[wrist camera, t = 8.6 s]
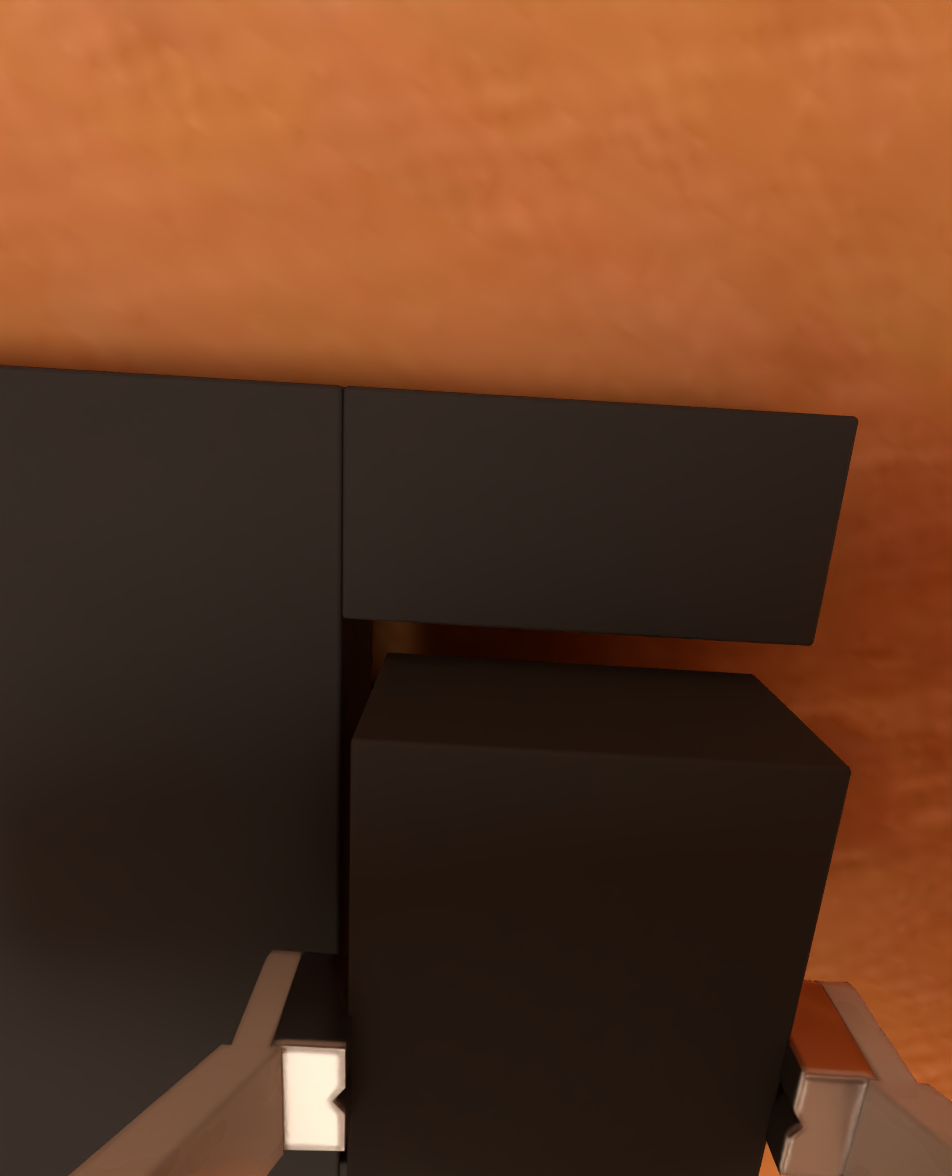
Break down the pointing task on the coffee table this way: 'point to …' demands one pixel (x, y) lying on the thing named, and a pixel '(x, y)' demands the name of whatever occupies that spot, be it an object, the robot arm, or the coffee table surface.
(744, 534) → the base pad
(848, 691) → the coffee table surface
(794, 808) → the black pad
